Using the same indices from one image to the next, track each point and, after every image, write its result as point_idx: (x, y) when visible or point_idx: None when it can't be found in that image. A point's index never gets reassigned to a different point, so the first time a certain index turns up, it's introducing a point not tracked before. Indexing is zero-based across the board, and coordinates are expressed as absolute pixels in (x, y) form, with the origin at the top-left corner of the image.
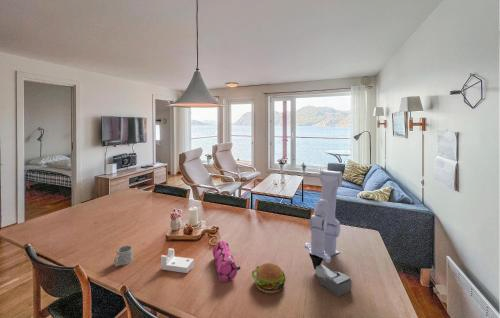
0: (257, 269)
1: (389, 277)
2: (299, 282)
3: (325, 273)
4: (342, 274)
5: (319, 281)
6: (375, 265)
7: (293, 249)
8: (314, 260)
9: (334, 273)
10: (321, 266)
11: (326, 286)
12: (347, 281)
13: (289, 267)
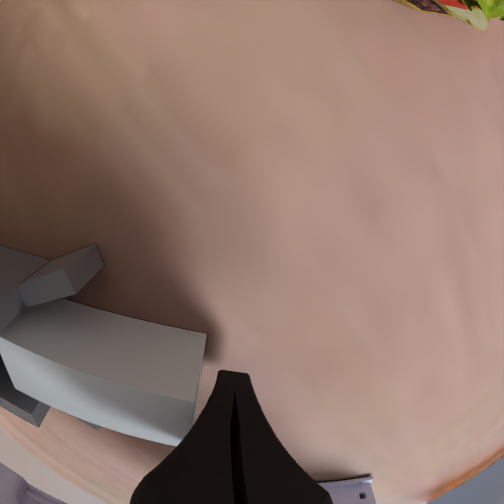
0: None
1: (54, 467)
2: (231, 90)
3: (50, 360)
4: (6, 407)
5: (76, 256)
6: (120, 498)
7: (476, 392)
8: (212, 464)
9: (38, 399)
10: (162, 427)
11: (37, 261)
12: None
13: (451, 223)
